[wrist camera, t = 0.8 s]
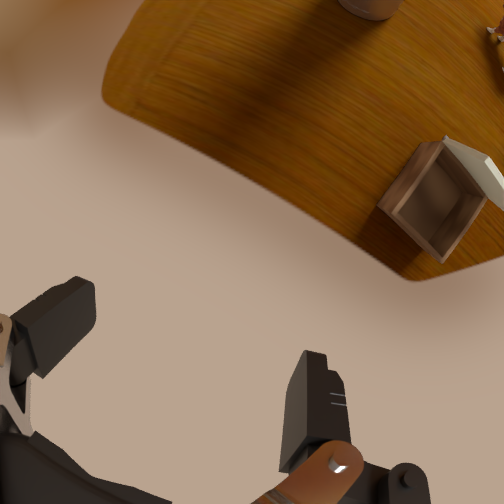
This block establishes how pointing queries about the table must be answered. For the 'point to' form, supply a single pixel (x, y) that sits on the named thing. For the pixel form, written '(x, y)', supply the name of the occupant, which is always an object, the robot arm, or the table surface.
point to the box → (434, 199)
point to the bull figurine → (499, 31)
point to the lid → (480, 170)
